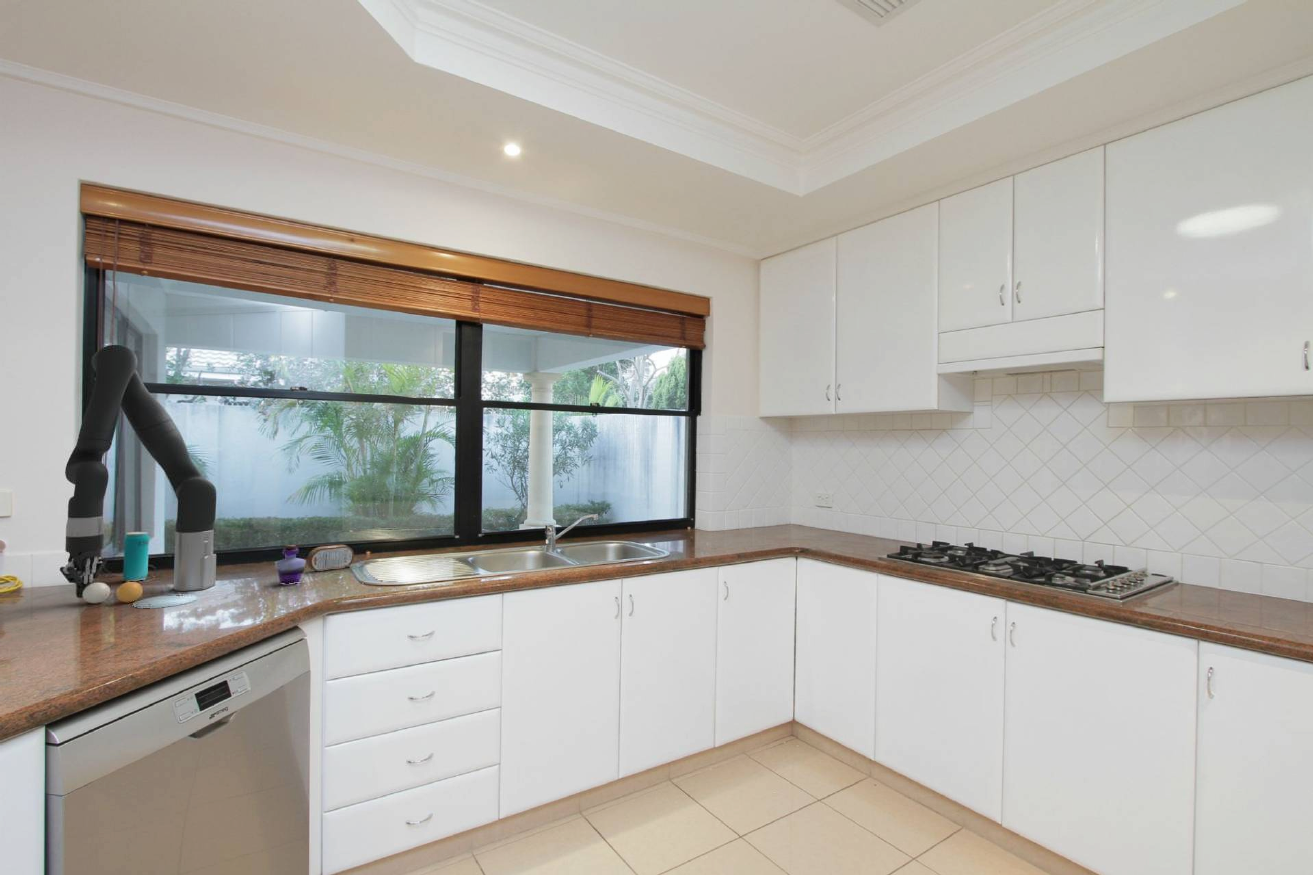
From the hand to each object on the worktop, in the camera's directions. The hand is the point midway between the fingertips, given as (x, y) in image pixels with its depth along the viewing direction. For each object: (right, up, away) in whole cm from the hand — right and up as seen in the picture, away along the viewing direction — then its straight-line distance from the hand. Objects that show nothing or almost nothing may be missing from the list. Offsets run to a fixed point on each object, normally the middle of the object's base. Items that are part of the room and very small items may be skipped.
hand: (83, 596), depth 164 cm
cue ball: (+4, +1, -1) cm, 4 cm away
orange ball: (+12, +1, +1) cm, 12 cm away
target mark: (+20, -2, +2) cm, 21 cm away
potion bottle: (+40, -3, +27) cm, 48 cm away
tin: (+42, -3, +47) cm, 63 cm away
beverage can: (-7, -2, +25) cm, 26 cm away
